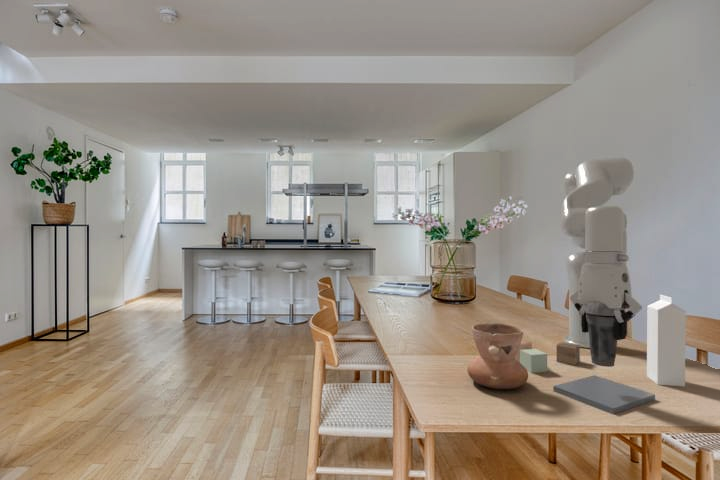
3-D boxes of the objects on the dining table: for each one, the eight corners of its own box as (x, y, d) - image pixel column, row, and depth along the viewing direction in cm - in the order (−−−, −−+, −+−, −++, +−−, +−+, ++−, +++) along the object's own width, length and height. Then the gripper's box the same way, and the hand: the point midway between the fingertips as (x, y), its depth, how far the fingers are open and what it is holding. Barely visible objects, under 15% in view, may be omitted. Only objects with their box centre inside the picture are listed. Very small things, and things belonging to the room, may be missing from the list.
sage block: (535, 366, 114) (535, 348, 114) (547, 371, 109) (547, 353, 109) (519, 367, 113) (520, 349, 113) (531, 373, 108) (531, 354, 108)
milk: (657, 385, 99) (657, 297, 99) (646, 376, 105) (646, 293, 105) (685, 387, 98) (686, 297, 98) (673, 378, 104) (673, 294, 104)
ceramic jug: (526, 401, 89) (526, 338, 89) (461, 390, 95) (461, 332, 95) (529, 376, 106) (529, 322, 106) (473, 368, 112) (473, 318, 112)
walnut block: (561, 358, 121) (561, 341, 121) (579, 361, 118) (579, 344, 118) (556, 361, 118) (556, 345, 118) (575, 365, 114) (575, 348, 114)
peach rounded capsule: (519, 358, 121) (519, 338, 121) (536, 363, 116) (536, 343, 116) (505, 360, 119) (505, 340, 118) (522, 366, 113) (522, 345, 113)
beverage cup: (578, 359, 96) (578, 276, 96) (606, 358, 97) (606, 276, 96) (598, 369, 89) (598, 279, 89) (629, 368, 89) (629, 279, 89)
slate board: (594, 379, 103) (594, 375, 103) (655, 399, 90) (655, 394, 90) (553, 390, 95) (553, 385, 95) (613, 414, 83) (613, 408, 83)
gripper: (653, 260, 87) (653, 342, 87) (578, 257, 102) (578, 326, 102) (634, 261, 83) (633, 346, 83) (559, 257, 99) (558, 329, 99)
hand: (603, 334), depth 93 cm, fingers closed on beverage cup, 7 cm apart
